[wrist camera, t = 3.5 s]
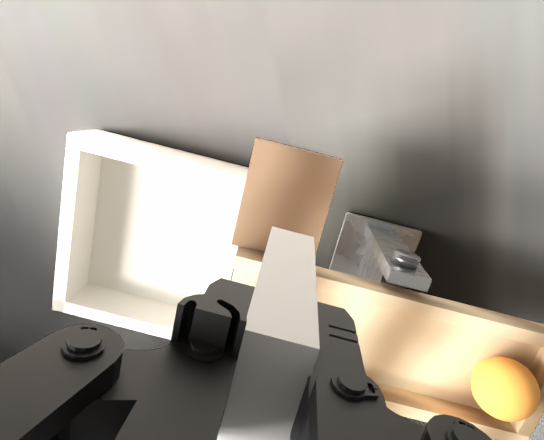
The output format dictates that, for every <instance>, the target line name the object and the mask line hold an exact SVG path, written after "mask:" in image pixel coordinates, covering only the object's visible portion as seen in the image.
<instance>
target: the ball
mask: <svg viewBox="0 0 544 440" xmlns="http://www.w3.org/2000/svg"><path fill="white" fill-rule="evenodd" d="M471 390H472V393H473V396H474V398H475V400H476V402H477V403H478V405H479V406H480V407H481V408H482V409H483V410H484V411H485V412H486V413H488V414H489V415H491V416H492V417H494V418H496V419H499V420H502V421H507V422H518V421H522V420H524V419H527V418H528V417H530V416H531V415H532V414H533V413H534V412H535V411H536V409H537V408H538V405H539V402H540V389H539V385H538V382H537V380H536V378H535V377H534V375H533V374H532V373H531V372H530V370H529V369H528V368H527V367H525V366H524V365H523V364H521V363H520V362H518V361H516V360H514V359H511V358H507V357H499V356H498V357H491V358H487V359H485V360H483V361H482V362H480V363H479V364H478V365H477V366H476V367H475V369H474V371H473V373H472V376H471Z"/></svg>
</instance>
